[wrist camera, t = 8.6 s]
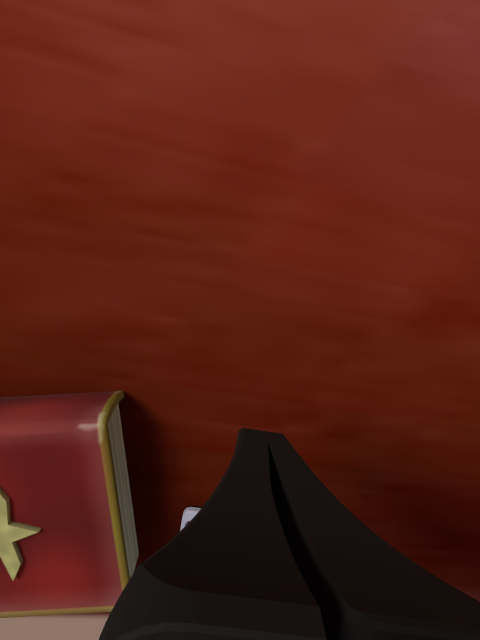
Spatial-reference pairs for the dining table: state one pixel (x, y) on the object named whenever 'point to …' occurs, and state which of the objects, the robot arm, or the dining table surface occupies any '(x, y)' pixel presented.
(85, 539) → the hardcover book
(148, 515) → the dining table surface
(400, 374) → the dining table surface
